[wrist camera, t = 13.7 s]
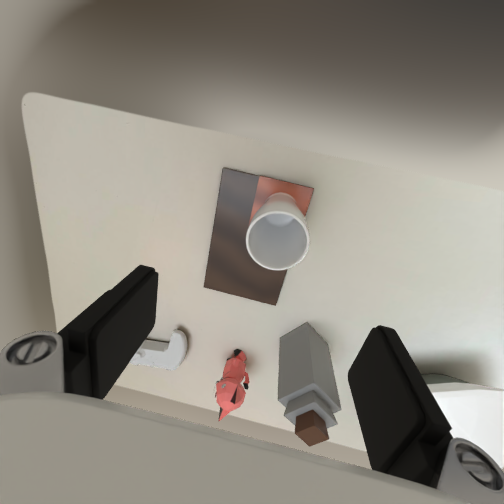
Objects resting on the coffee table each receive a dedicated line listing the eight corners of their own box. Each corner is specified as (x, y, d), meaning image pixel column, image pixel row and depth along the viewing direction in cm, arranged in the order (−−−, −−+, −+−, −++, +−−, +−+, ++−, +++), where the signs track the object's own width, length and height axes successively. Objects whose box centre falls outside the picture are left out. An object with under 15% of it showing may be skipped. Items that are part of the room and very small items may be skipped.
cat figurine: (233, 341, 53) (218, 392, 42) (260, 357, 54) (253, 411, 43) (217, 361, 56) (200, 414, 45) (243, 375, 56) (233, 431, 45)
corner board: (224, 165, 39) (222, 166, 38) (313, 187, 39) (313, 188, 38) (204, 285, 48) (203, 287, 47) (276, 303, 48) (276, 306, 47)
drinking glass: (308, 194, 38) (320, 221, 25) (293, 234, 41) (297, 279, 27) (265, 181, 38) (254, 201, 25) (254, 222, 41) (237, 261, 27)
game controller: (183, 335, 50) (182, 379, 52) (191, 324, 54) (189, 366, 56) (114, 325, 51) (115, 369, 53) (127, 315, 55) (128, 356, 57)
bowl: (353, 359, 51) (365, 398, 43) (485, 345, 46) (525, 386, 38) (366, 431, 58) (378, 474, 51) (479, 426, 53) (512, 473, 46)
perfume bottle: (307, 322, 49) (317, 412, 32) (327, 344, 50) (348, 442, 34) (279, 338, 51) (276, 430, 34) (300, 359, 52) (306, 457, 36)
